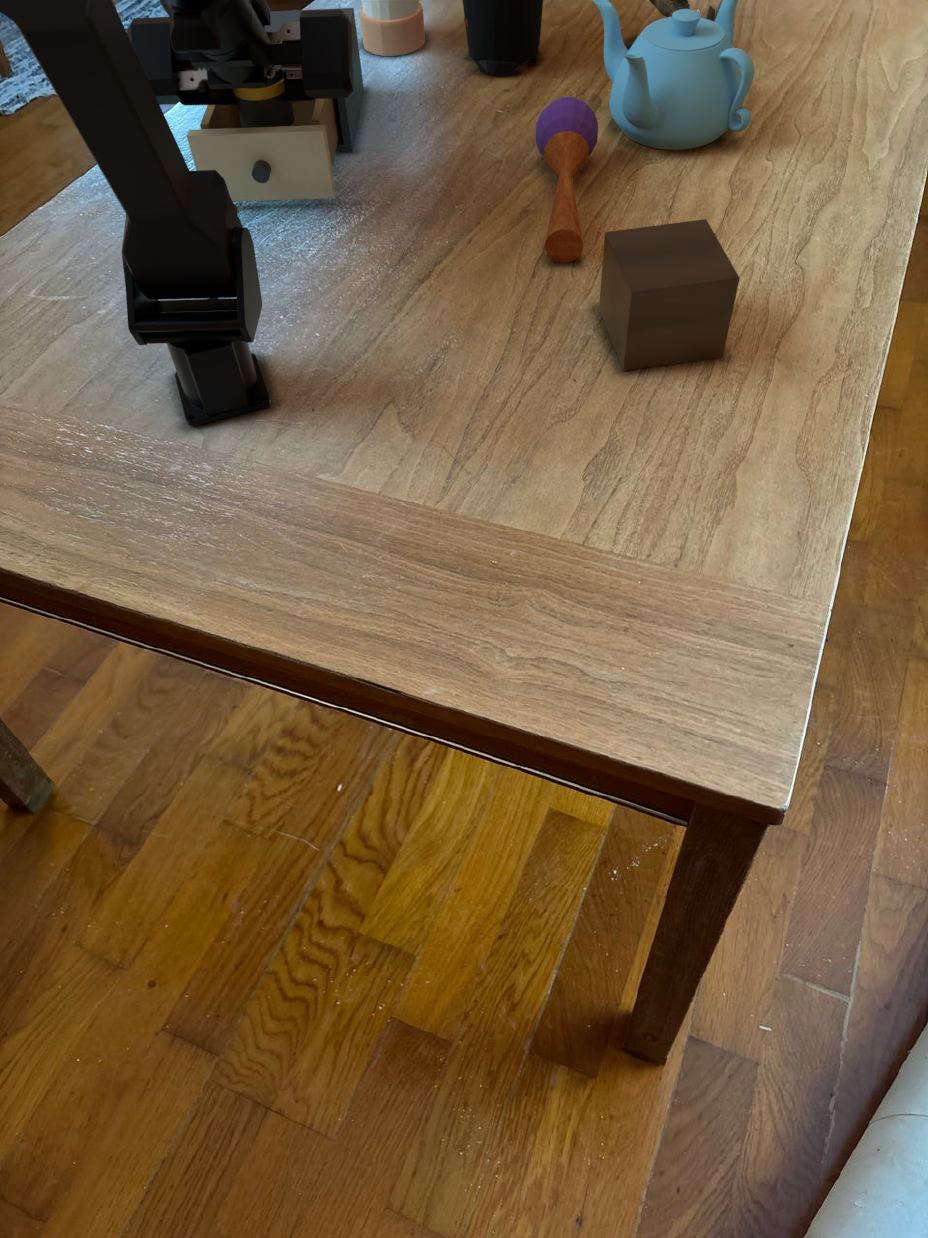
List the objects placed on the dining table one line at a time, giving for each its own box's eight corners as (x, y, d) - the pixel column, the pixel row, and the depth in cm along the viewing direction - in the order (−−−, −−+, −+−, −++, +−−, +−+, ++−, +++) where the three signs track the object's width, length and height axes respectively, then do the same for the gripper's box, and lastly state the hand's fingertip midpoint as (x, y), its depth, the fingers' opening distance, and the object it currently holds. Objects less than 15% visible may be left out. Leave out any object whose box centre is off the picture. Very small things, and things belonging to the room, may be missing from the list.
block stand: (723, 357, 73) (740, 277, 68) (623, 371, 73) (631, 292, 67) (692, 297, 78) (706, 218, 72) (598, 310, 77) (604, 231, 72)
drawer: (333, 205, 87) (322, 137, 82) (202, 209, 88) (183, 142, 83) (347, 132, 96) (337, 66, 90) (227, 137, 96) (211, 71, 91)
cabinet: (352, 152, 95) (340, 66, 88) (220, 156, 96) (198, 72, 89) (363, 89, 103) (353, 7, 97) (242, 94, 104) (223, 12, 97)
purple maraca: (523, 221, 79) (531, 90, 89) (535, 279, 84) (542, 149, 94) (594, 209, 77) (594, 78, 88) (602, 269, 82) (601, 138, 93)
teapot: (761, 156, 91) (785, 41, 83) (606, 168, 91) (616, 53, 83) (725, 87, 100) (744, -24, 91) (585, 97, 100) (591, -12, 91)
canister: (294, 105, 90) (284, 49, 86) (296, 131, 87) (286, 74, 83) (240, 112, 90) (227, 55, 86) (240, 138, 86) (227, 81, 82)
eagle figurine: (720, 24, 106) (647, -3, 107) (729, -21, 99) (651, -49, 100) (691, 86, 106) (618, 58, 107) (698, 45, 99) (620, 16, 100)
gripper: (330, -106, 71) (362, 0, 86) (88, -94, 72) (163, 8, 87) (336, 53, 72) (366, 129, 88) (99, 63, 73) (170, 136, 89)
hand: (266, 97), depth 88 cm, fingers closed on canister, 5 cm apart
